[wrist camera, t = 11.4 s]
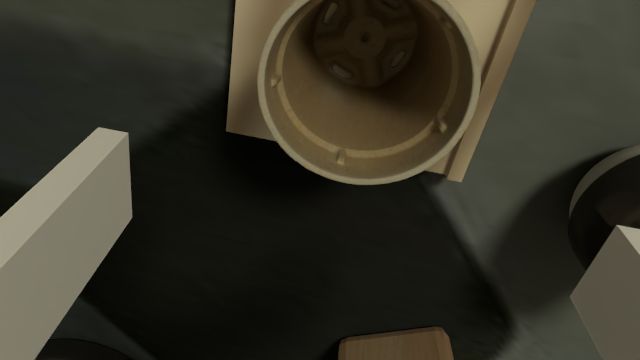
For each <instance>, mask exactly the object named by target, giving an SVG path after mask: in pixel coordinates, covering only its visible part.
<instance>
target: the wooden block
mask: <svg viewBox="0 0 640 360" xmlns="http://www.w3.org/2000/svg"><path fill="white" fill-rule="evenodd" d="M338 360H454V359H453V354H452V350H451V345H450V341H449V337H448V335H447V334H446V333H445V331H444V330H443V329H442V328H440V327H427V328H419V329H411V330H403V331H395V332H387V333H379V334H371V335H363V336H355V337H347V338H345V339H343V340H341V343H340V345H339V350H338Z"/></svg>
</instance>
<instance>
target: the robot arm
mask: <svg viewBox="0 0 640 360" xmlns="http://www.w3.org/2000/svg"><path fill="white" fill-rule="evenodd" d="M131 218H132V203H131V182H130V161H129V140H128V133H126V132H120V131H115V130H110V129H104V128H99V127H98V128H97V129H96V130H95V131H94V132H93V133H92V134H91V135H90V136H89V137H87V138H86V139H85V140H84V141H83V142H82V143H81V144H80V145H79V146H78V147H77V148H75V149H74V150H73V151H72V152H71V153H70V154H69V155H68V156H67V157H66V158H65V159H63V160H62V161H61V162H60V163H59V164H58V165H57V166H56V167H55V168H54V169H53V170H52V171H50V172H49V173H48V174H47V175H46V176H45V177H44V178H43V179H42V180H41V181H40V182H38V183H37V184H36V185H35V186H34V187H33V188H32V189H31V190H30V191H29V192H28V193H26V194H25V195H24V196H23V197H22V198H21V199H20V200H19V201H18V202H17V203H16V204H15V205H13V206H12V207H11V208H10V209H9V210H8V211H7V212H6V213H5V214H4V215H3V216H1V217H0V360H131V359H129V358H127V357H126V356H124V355H122V354H120V353H118V352H116V351H114V350H112V349H109V348H107V347H104V346H101V345H98V344H94V343H90V342H86V341H80V340H73V339H55V340H48V339H49V338H50V336H51V335H52V333H53V332H54V330H55V329H56V328H57V326H58V325H59V323H60V322H61V320H62V319H63V317H64V316H65V314H66V313H67V312H68V310H69V309H70V307H71V306H72V304H73V303H74V301H75V300H76V298H77V297H78V295H79V294H80V293H81V291H82V290H83V288H84V287H85V285H86V284H87V282H88V281H89V279H90V278H91V277H92V275H93V274H94V272H95V271H96V269H97V268H98V266H99V265H100V263H101V262H102V261H103V259H104V258H105V256H106V255H107V253H108V252H109V250H110V249H111V247H112V246H113V244H114V243H115V242H116V240H117V239H118V237H119V236H120V234H121V233H122V231H123V230H124V228H125V227H126V226H127V224H128V223H129V221H130V220H131ZM570 299H571V300H572V302H573V304H574V306H575V308H576V310H577V312H578V314H579V316H580V318H581V320H582V322H583V323H584V325H585V327H586V329H587V331H588V333H589V335H590V337H591V339H592V341H593V343H594V344H595V346H596V348H597V350H598V352H599V354H600V356H601V358H602V360H640V229H636V228H630V227H625V226H620V225H616V227H615V228H614V230H613V231H612V233H611V234H610V236H609V237H608V239H607V240H606V242H605V243H604V245H603V246H602V248H601V250H600V251H599V253H598V254H597V256H596V257H595V259H594V260H593V262H592V263H591V265H590V266H589V268H588V269H587V271H586V272H585V274H584V275H583V277H582V278H581V280H580V282H579V283H578V285H577V286H576V288H575V289H574V291H573V292H572V294H571V295H570Z"/></svg>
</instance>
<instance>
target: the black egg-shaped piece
mask: <svg viewBox="0 0 640 360" xmlns="http://www.w3.org/2000/svg"><path fill="white" fill-rule="evenodd" d="M616 225H620V226H625V227H630V228H636V229H640V145H637V146H633V147H629V148H626V149H623V150H621V151H618V152H616V153H614V154H612V155H610V156H608V157H606V158H604V159H603V160H602V161H600V162H599V163H597V164H596V165H595V166H594V167H593V168H591V169H590V170H589V171H588V172H587V174H586V175H585V176H584V177H583V178H582V180H581V181H580V182H579V184H578V186H577V188H576V190H575V191H574V194H573V196H572V200H571V204H570V210H569V224H568V237H569V242H570V245H571V247H572V250H573V252H574V253H575V255H576V257H577V259H578V260H579V262H580V263H581V265H582V266H583V268H584V269H585V270H586V271H587V269H588V268H589V266H590V265H591V263H592V262H593V260H594V259H595V257H596V256H597V254H598V253H599V251H600V250H601V248H602V246H603V245H604V243H605V242H606V240H607V239H608V237H609V236H610V234H611V233H612V231H613V230H614V228H615V227H616Z"/></svg>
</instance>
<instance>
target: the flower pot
mask: <svg viewBox="0 0 640 360" xmlns="http://www.w3.org/2000/svg"><path fill="white" fill-rule="evenodd" d="M395 1H397V2H398V4H399V7H398V8H397V9H395V10H394V9H392V8H391V7H389V6H388V5H387V4H386V3H384V2H383V1H381V0H295V1H294V2H293V3H292V4H291V5H290V6H289V7H288V8H287V9H286V10H285V11H284V12H283V13H282V15H281V16H280V17H279V19H278V20H277V22H276V23H275V24H274V26H273V28H272V29H271V31H270V33H269V35H268V37H267V39H266V41H265V43H264V46H263V49H262V52H261V55H260V59H259V65H258V74H257V90H258V98H259V105H260V109H261V112H262V115H263V117H264V119H265V122H266V125H267V127H268V128H269V130H270V132H271V134H272V136H273V138H274V139H275V140H276V141H277V143H278V144H279V145H280V146H281V148H282V149H283V150H284V151H285V152H286V153H287V154H288V155H289V156H290V157H291V158H293V159H294V160H295V161H297V162H298V163H299V164H301V165H302V166H304V167H305V168H307V169H308V170H311V171H312V172H314V173H317V174H319V175H321V176H323V177H326V178H329V179H331V180H335V181H338V182H343V183H348V184H357V185H376V184H385V183H391V182H395V181H400V180H403V179H407V178H409V177H411V176H414V175H416V174H418V173H420V172H422V171H424V170H426V169H428V168H429V167H431V166H432V165H434V164H435V163H436V162H438V161H439V160H440V159H441V158H443V157H444V156H445V155H447V153H448V152H449V151H450V150H451V149H452V148H453V147H454V146H455V145H456V143H457V142H458V140H459V139H460V138H461V137H462V135H463V133H464V132H465V131H466V129H467V127H468V125H469V123H470V121H471V119H472V117H473V115H474V112H475V109H476V107H477V102H478V98H479V93H480V86H481V65H480V59H479V55H478V50H477V46H476V43H475V40H474V38H473V36H472V34H471V31H470V29H469V27H468V26H467V24H466V23H465V21H464V20H463V18H462V17H461V15H460V14H459V13H458V11H457V10H456V9H455V8H454V7H453V6H452V5H451V4H450V3H449V2H448V1H447V0H395ZM332 3H335V4H337V6H338V9H337V10H336V11H335V13H334V14H333V15H332V17H331V19H330V21H329V23H328V24H325V23H323V22H324V20H325V15H326V13H327V11H328V9H329V7H330V5H331V4H332ZM362 36H368V38H369V39H368V41H367V42H362V40H361V37H362ZM400 52H405V54H404V55H403V57H402V59H401V60H400V61H399V63H398V64H397V65H396V66H394V67H391V64H392V63H393V61H394V59H395V58H394V56H395V57H396V56H397V55H398V54H399V53H400ZM334 65H337V66H338V67H339V68H341V69H342V70H344V71H345V72H347V73H349V74H351V78H345V77H342V76H340V75H339V74H337V73H336V72H335V71H334V69H333V66H334Z"/></svg>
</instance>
